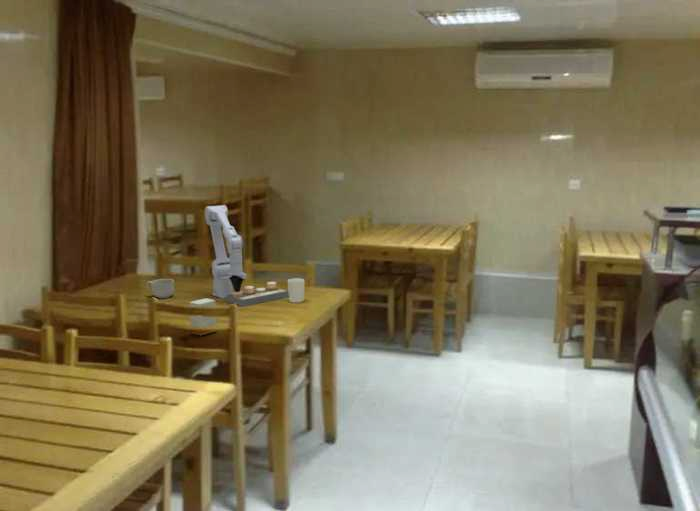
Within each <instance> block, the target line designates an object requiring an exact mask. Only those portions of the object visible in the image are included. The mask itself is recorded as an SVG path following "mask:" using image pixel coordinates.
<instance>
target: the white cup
mask: <svg viewBox="0 0 700 511" xmlns="http://www.w3.org/2000/svg"><path fill="white" fill-rule="evenodd" d="M305 283H306V282H305V279H304V278H300V277H299V278H289V279H288V280H287V289H288V290H287V291H288V295H289V297H288V301H289V302H290V303H294V304H295V303H302V302H303V303H304V301H305Z"/></svg>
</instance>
